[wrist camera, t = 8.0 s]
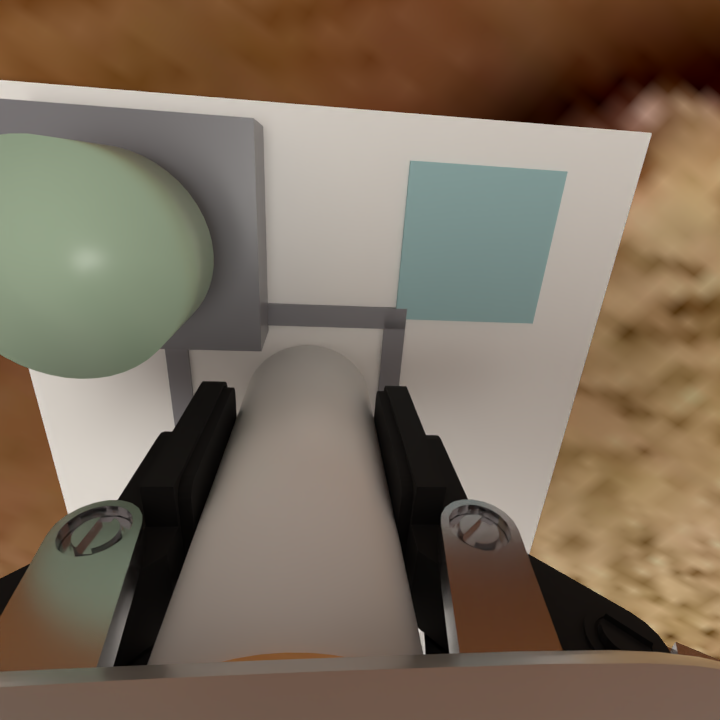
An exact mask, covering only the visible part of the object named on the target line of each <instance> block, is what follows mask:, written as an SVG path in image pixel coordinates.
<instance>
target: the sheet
mask: <svg viewBox="0 0 720 720" xmlns="http://www.w3.org/2000/svg"><path fill="white" fill-rule="evenodd" d="M0 99H13V100H26V101H39V102H52V103H65V104H78V105H91V106H104V107H117V108H130V109H143V110H156V111H169V112H182V113H195V114H208V115H221V116H234V117H246V118H254V119H255V120H256V121H258V122H259V123H260V124H261V125H262V126H263V137H264V175H265V213H266V251H267V289H268V304H267V307H268V327H269V331H268V334H267V337H266V340H265V343H264V346H263V348H262V351H223V350H182V349H159V350H158V351H157V352H156V353H155V354H154V355H153V356H151V357H150V358H149V359H148V360H146V361H145V362H143V363H142V364H140V365H138V366H137V367H135V368H132V369H130V370H128V371H125V372H123V373H119V374H116V375H113V376H108V377H102V378H93V379H75V378H64V377H59V376H53V375H49V374H45V373H42V372H38V371H35V370H32V369H30V368H29V371H30V375H31V379H32V382H33V386H34V390H35V394H36V397H37V401H38V405H39V408H40V412H41V416H42V419H43V423H44V427H45V431H46V434H47V438H48V442H49V445H50V449H51V453H52V456H53V460H54V464H55V467H56V471H57V475H58V479H59V482H60V486H61V490H62V493H63V497H64V501H65V504H66V508H67V512H68V514H69V513H71V512H73V511H75V510H77V509H79V508H81V507H84V506H86V505H89V504H92V503H95V502H101V501H106V500H118V498H119V497H120V495H121V494H122V492H123V491H124V489H125V487H126V486H127V484H128V483H129V481H130V480H131V478H132V476H133V475H134V473H135V472H136V470H137V469H138V467H139V465H140V464H141V462H142V461H143V459H144V458H145V456H146V455H147V453H148V451H149V450H150V448H151V447H152V445H153V444H154V442H155V440H156V439H157V437H158V436H159V435H160V433H161V432H164V431H173V430H174V428H175V426H176V424H177V423H178V421H179V419H180V418H181V416H182V414H183V413H184V411H185V409H186V408H187V406H188V404H189V403H190V401H191V399H192V398H193V396H194V394H195V393H196V391H197V389H198V387H199V386H200V384H201V383H202V381H220V382H226V383H227V386H228V387H234V388H235V394H236V413H237V415H238V412H239V409H240V407H241V404H242V401H243V398H244V396H245V393H246V390H247V387H248V385H249V382H250V379H251V377H252V375H253V374H254V372H255V371H256V369H257V368H258V367H259V366H260V365H261V364H262V363H263V362H264V361H265V360H266V359H267V358H269V357H270V356H272V355H273V354H275V353H277V352H279V351H281V350H284V349H287V348H290V347H295V346H305V345H311V346H320V347H324V348H328V349H331V350H333V351H336V352H338V353H340V354H342V355H343V356H345V357H346V358H347V359H349V360H350V361H351V362H352V363H353V364H354V365H355V366H356V367H357V368H358V369H359V371H360V372H361V374H362V376H363V378H364V380H365V382H366V385H367V388H368V393H369V397H370V402H371V407H372V412H373V417H374V412H375V401H376V393H377V391H384V387H385V386H406V387H407V389H408V391H409V394H410V396H411V399H412V401H413V404H414V406H415V409H416V411H417V414H418V416H419V419H420V421H421V424H422V426H423V429H424V431H425V434H426V435H438V436H439V437H440V438H441V440H442V442H443V445H444V447H445V449H446V451H447V454H448V456H449V458H450V460H451V463H452V465H453V467H454V469H455V471H456V474H457V476H458V478H459V480H460V483H461V485H462V487H463V489H464V491H465V494H466V496H467V498H468V499H473V500H478V501H483V502H486V503H488V504H491V505H493V506H496V507H497V508H499V509H500V510H502V511H503V512H505V513H506V514H507V515H508V516H509V517H510V518H511V519H512V520H513V521H514V523H515V525H516V526H517V528H518V530H519V532H520V535H521V538H522V541H523V543H524V546H525V549H526V551H527V553H528V554H529V553H530V550H531V546H532V543H533V539H534V536H535V532H536V529H537V526H538V522H539V519H540V515H541V512H542V508H543V505H544V502H545V498H546V495H547V491H548V488H549V484H550V481H551V478H552V474H553V471H554V467H555V464H556V460H557V457H558V454H559V450H560V447H561V443H562V440H563V436H564V433H565V430H566V426H567V423H568V419H569V416H570V412H571V409H572V406H573V402H574V399H575V395H576V392H577V388H578V385H579V382H580V378H581V375H582V371H583V368H584V364H585V361H586V358H587V354H588V351H589V347H590V344H591V340H592V337H593V334H594V330H595V327H596V323H597V320H598V316H599V313H600V310H601V306H602V303H603V299H604V296H605V292H606V289H607V286H608V282H609V279H610V275H611V272H612V268H613V265H614V262H615V258H616V255H617V251H618V248H619V244H620V241H621V238H622V234H623V231H624V227H625V224H626V220H627V217H628V214H629V210H630V207H631V203H632V200H633V196H634V193H635V190H636V186H637V183H638V179H639V176H640V172H641V169H642V166H643V162H644V159H645V155H646V152H647V148H648V145H649V142H650V138H651V135H652V133H646V132H634V131H622V130H610V129H597V128H585V127H573V126H560V125H548V124H536V123H523V122H511V121H499V120H486V119H474V118H462V117H449V116H437V115H425V114H412V113H400V112H388V111H375V110H363V109H351V108H338V107H326V106H314V105H302V104H289V103H277V102H265V101H252V100H240V99H228V98H215V97H203V96H191V95H178V94H166V93H154V92H141V91H129V90H117V89H104V88H92V87H80V86H67V85H55V84H43V83H30V82H18V81H6V80H0ZM418 631H419V635H420V629H419V628H418Z"/></svg>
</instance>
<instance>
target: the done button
mask: <svg viewBox="0 0 720 720" xmlns="http://www.w3.org/2000/svg"><path fill="white" fill-rule="evenodd" d="M213 267H214V253H213V245H212V240H211V236H210V232H209V229H208V226H207V224H206V221H205V219H204V216H203V215H202V213H201V211H200V209H199V207H198V205H197V204H196V202H195V201H194V199H193V198H192V197H191V195H190V194H189V192H188V191H187V190H186V189H185V188H184V187H183V186H182V185H181V183H180V182H179V181H178V180H177V179H175V178H174V177H173V176H172V175H171V174H170V173H169V172H168V171H166V170H165V169H163V168H162V167H161V166H159V165H158V164H156V163H155V162H153V161H151V160H149V159H147V158H146V157H144V156H142V155H139V154H137V153H135V152H132V151H130V150H126V149H123V148H119V147H115V146H109V145H103V144H96V143H89V142H83V141H76V140H69V139H63V138H56V137H49V136H42V135H35V134H28V133H8V134H1V135H0V354H1V355H2V356H4V357H6V358H8V359H10V360H12V361H14V362H15V363H17V364H19V365H22V366H25V367H27V368H30V369H32V370H35V371H38V372H42V373H45V374H49V375H53V376H59V377H64V378H75V379H93V378H102V377H108V376H113V375H116V374H119V373H123V372H125V371H128V370H130V369H132V368H135V367H137V366H138V365H140V364H142V363H143V362H145V361H146V360H148V359H149V358H150V357H151V356H153V355H154V354H155V353H156V352H157V351H158V350H159V349H160V348H161V347H162V346H163V345H164V344H165V343H166V342H167V341H168V340H169V339H170V338H171V337H172V336H173V334H174V333H175V332H176V331H177V330H178V329H179V328H180V327H181V326H182V325H183V324H184V323H185V322H186V321H187V320H188V319H189V318H190V317H191V316H192V314H193V313H194V312H195V311H196V310H197V309H198V308H199V306H200V305H201V303H202V302H203V300H204V298H205V296H206V294H207V292H208V290H209V287H210V283H211V280H212V275H213Z"/></svg>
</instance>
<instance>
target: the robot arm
mask: <svg viewBox="0 0 720 720" xmlns="http://www.w3.org/2000/svg"><path fill="white" fill-rule="evenodd" d="M236 418H237V413H236V394H235V388H234V387H228V386H227V383H226V382H220V381H202V383H201V384H200V386H199V387H198V389H197V391H196V393H195V394H194V396H193V398H192V399H191V401H190V403H189V404H188V406H187V408H186V409H185V411H184V413H183V414H182V416H181V418H180V419H179V421H178V423H177V424H176V426H175V428H174V430H173V431H164V432H161V433H160V435H159V436H158V437H157V439H156V440H155V442H154V444H153V445H152V447H151V448H150V450H149V451H148V453H147V455H146V456H145V458H144V459H143V461H142V462H141V464H140V465H139V467H138V469H137V470H136V472H135V473H134V475H133V476H132V478H131V480H130V481H129V483H128V484H127V486H126V487H125V489H124V491H123V492H122V494H121V495H120V497H119V498H118V500H106V501H101V502H95V503H92V504H89V505H86V506H84V507H81V508H79V509H77V510H75V511H73V512H71V513H69V514H68V515H66V516H65V517H63V518H62V519H61V520H60V521H58V522H57V523H56V524H55V525H54V526H53V527H52V529H51V530H50V531H49V532H48V534H47V535H46V537H45V539H44V540H43V542H42V544H41V546H40V547H39V549H38V551H37V553H36V555H35V556H34V558H33V560H32V562H31V563H30V564H29V565H27V566H25V567H23V568H21V569H19V570H17V571H15V572H13V573H11V574H9V575H7V576H5V577H3V578H1V579H0V720H720V660H718V659H716V658H713V657H711V656H708V655H706V654H703V653H701V652H699V651H696V650H694V649H691V648H689V647H686V646H684V645H682V644H679V643H677V642H675V644H674V646H673V647H672V648H669V647H667V646H666V645H665V643H664V642H663V641H662V639H661V638H660V637H659V635H658V634H657V633H656V632H655V631H654V630H653V629H651V628H650V627H649V626H648V625H647V624H646V623H645V622H644V621H642V620H641V619H639V618H638V617H636V616H635V615H634V614H632V613H631V612H629V611H627V610H625V609H624V608H622V607H620V606H618V605H617V604H615V603H613V602H611V601H610V600H608V599H606V598H604V597H603V596H601V595H599V594H597V593H596V592H594V591H592V590H590V589H589V588H587V587H585V586H583V585H582V584H580V583H578V582H576V581H575V580H573V579H571V578H569V577H568V576H566V575H564V574H562V573H561V572H559V571H557V570H556V569H554V568H552V567H550V566H549V565H547V564H545V563H543V562H542V561H540V560H538V559H536V558H535V557H533V556H531V555H529V554H528V553H527V551H526V549H525V546H524V543H523V541H522V538H521V535H520V532H519V530H518V528H517V526H516V525H515V523H514V521H513V520H512V519H511V518H510V517H509V516H508V515H507V514H506V513H505V512H503V511H502V510H500V509H499V508H497V507H496V506H493V505H491V504H488V503H486V502H483V501H478V500H473V499H468V498H467V496H466V494H465V491H464V489H463V487H462V485H461V483H460V480H459V478H458V476H457V474H456V471H455V469H454V467H453V465H452V463H451V460H450V458H449V456H448V454H447V451H446V449H445V447H444V445H443V442H442V440H441V438H440V437H439V436H438V435H426V434H425V431H424V429H423V426H422V424H421V421H420V419H419V416H418V414H417V411H416V409H415V406H414V404H413V401H412V399H411V396H410V394H409V391H408V389H407V387H406V386H385V387H384V391H377V393H376V401H375V412H374V422H375V427H376V432H377V437H378V441H379V446H380V451H381V456H382V461H383V465H384V470H385V475H386V480H387V484H388V489H389V494H390V499H391V504H392V508H393V513H394V518H395V523H396V527H397V532H398V535H399V540H400V545H401V550H402V554H403V559H404V564H405V569H406V573H407V578H408V583H409V588H410V593H411V597H412V602H413V607H414V612H415V616H416V621H417V626H418V628H419V629H420V640H421V645H422V650H423V655H393V656H364V657H338V658H311V659H285V660H260V661H235V662H209V663H184V664H162V665H147V664H148V661H149V658H150V655H151V653H152V650H153V647H154V644H155V642H156V639H157V636H158V633H159V630H160V628H161V625H162V622H163V619H164V617H165V614H166V611H167V608H168V606H169V603H170V600H171V597H172V595H173V592H174V589H175V586H176V584H177V581H178V578H179V575H180V572H181V570H182V567H183V564H184V561H185V559H186V556H187V553H188V550H189V548H190V545H191V542H192V539H193V537H194V534H195V531H196V528H197V526H198V523H199V520H200V517H201V514H202V512H203V509H204V506H205V503H206V501H207V498H208V495H209V492H210V490H211V487H212V484H213V481H214V479H215V476H216V473H217V470H218V467H219V465H220V462H221V459H222V456H223V454H224V451H225V448H226V445H227V443H228V440H229V437H230V434H231V432H232V429H233V426H234V423H235V421H236Z"/></svg>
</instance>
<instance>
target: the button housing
mask: <svg viewBox="0 0 720 720" xmlns="http://www.w3.org/2000/svg"><path fill="white" fill-rule="evenodd" d="M8 133H28V134H35V135H42V136H49V137H56V138H63V139H69V140H76V141H83V142H89V143H96V144H103V145H109V146H115V147H119V148H123V149H126V150H130V151H132V152H135V153H137V154H139V155H142V156H144V157H146V158H147V159H149V160H151V161H153V162H155V163H156V164H158V165H159V166H161V167H162V168H163V169H165V170H166V171H168V172H169V173H170V174H171V175H172V176H173V177H174V178H175V179H177V180H178V181H179V182H180V183H181V185H182V186H183V187H184V188H185V189H186V190H187V191H188V192H189V194H190V195H191V197H192V198H193V199H194V201H195V202H196V204H197V205H198V207H199V209H200V211H201V213H202V215H203V216H204V219H205V221H206V224H207V226H208V229H209V232H210V236H211V240H212V245H213V253H214V267H213V275H212V280H211V283H210V287H209V290H208V292H207V294H206V296H205V298H204V300H203V302H202V303H201V305H200V306H199V308H198V309H197V310H196V311H195V312H194V313H193V314H192V316H191V317H190V318H189V319H188V320H187V321H186V322H185V323H184V324H183V325H182V326H181V327H180V328H179V329H178V330H177V331H176V332H175V333H174V334H173V336H172V337H171V338H170V339H169V340H168V341H167V342H166V343H165V344H164V345H163V346H162V347H161V348H160V349H182V350H223V351H262V348H263V346H264V343H265V340H266V337H267V334H268V331H269V327H268V307H267V304H268V289H267V251H266V213H265V175H264V137H263V126H262V125H261V124H260V123H259V122H258V121H256V120H255V119H254V118H246V117H234V116H221V115H208V114H195V113H182V112H169V111H156V110H143V109H130V108H117V107H104V106H91V105H78V104H65V103H52V102H39V101H26V100H13V99H0V135H1V134H8Z"/></svg>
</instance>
